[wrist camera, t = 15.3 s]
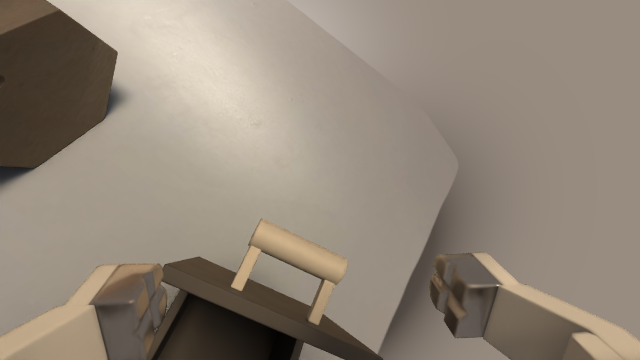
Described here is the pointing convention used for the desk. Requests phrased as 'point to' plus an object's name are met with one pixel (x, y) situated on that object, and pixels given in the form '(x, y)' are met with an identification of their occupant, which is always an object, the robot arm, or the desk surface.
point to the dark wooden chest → (217, 335)
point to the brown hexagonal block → (48, 81)
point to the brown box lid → (267, 302)
